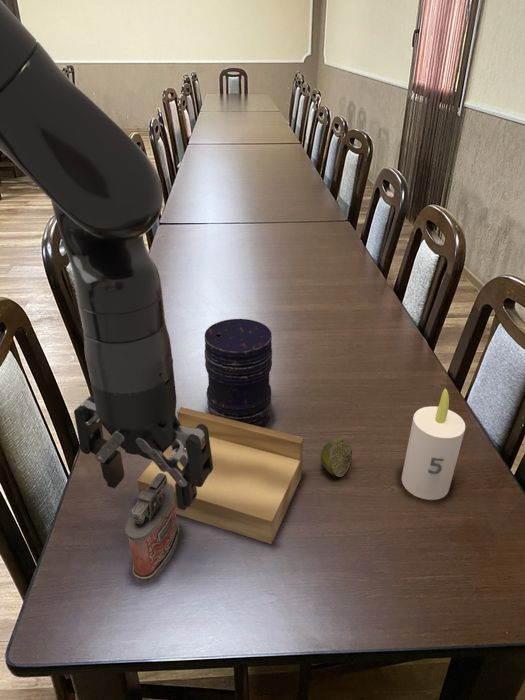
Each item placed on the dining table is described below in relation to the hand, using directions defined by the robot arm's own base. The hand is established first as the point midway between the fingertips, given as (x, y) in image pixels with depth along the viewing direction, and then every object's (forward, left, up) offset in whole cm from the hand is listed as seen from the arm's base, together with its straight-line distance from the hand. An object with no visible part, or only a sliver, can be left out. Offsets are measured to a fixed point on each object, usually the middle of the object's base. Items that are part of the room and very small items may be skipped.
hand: (150, 492), depth 58 cm
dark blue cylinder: (+27, +1, -10) cm, 29 cm away
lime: (+21, -16, -10) cm, 28 cm away
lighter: (0, 0, -10) cm, 10 cm away
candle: (+23, -28, -10) cm, 37 cm away
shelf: (+12, -3, -10) cm, 16 cm away
